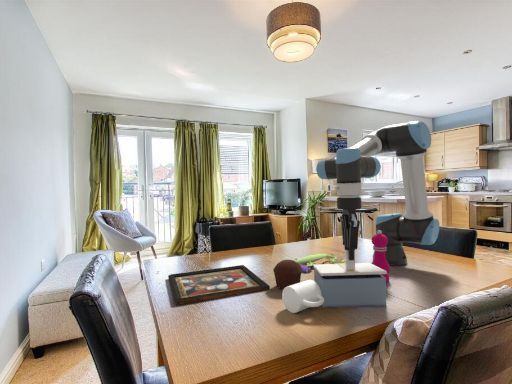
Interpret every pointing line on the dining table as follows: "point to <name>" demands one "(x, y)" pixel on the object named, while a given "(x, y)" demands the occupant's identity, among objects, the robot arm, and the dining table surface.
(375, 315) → the dining table surface
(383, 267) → the pepper mill
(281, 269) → the muffin
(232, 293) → the framed painting
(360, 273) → the lid
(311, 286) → the mug
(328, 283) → the box
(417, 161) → the robot arm
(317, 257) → the figurine
